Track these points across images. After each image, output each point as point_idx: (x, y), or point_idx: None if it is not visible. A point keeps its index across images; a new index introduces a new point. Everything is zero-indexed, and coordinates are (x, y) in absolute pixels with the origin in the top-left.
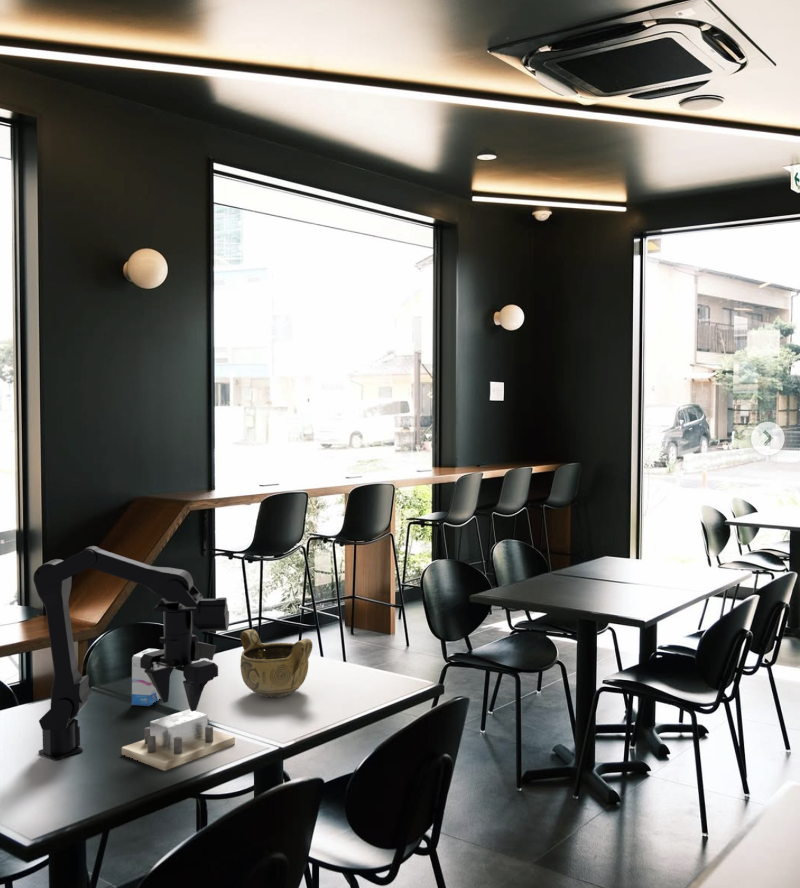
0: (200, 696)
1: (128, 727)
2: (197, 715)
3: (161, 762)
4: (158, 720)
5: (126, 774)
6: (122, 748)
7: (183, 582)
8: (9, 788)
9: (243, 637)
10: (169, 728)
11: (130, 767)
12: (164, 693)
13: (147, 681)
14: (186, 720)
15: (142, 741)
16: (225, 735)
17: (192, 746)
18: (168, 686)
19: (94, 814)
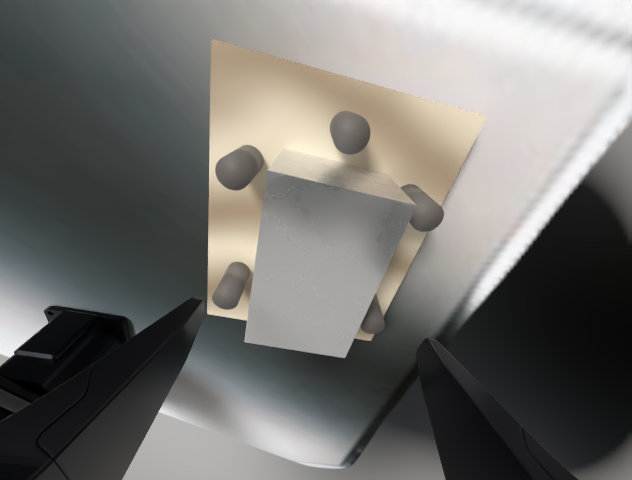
0: (508, 414)
1: (3, 137)
2: (373, 233)
3: (360, 338)
4: (260, 326)
5: (307, 355)
6: (211, 313)
7: None
8: (192, 422)
9: None
10: (346, 351)
11: None
12: (175, 359)
13: None
14: (362, 293)
15: (216, 271)
16: (441, 117)
17: None
18: (142, 372)
19: (363, 431)
